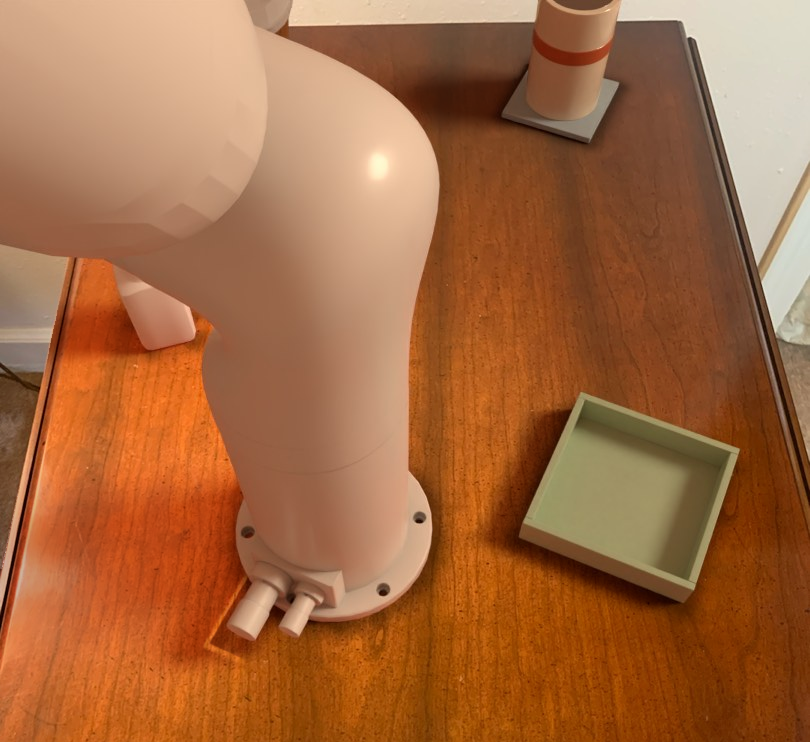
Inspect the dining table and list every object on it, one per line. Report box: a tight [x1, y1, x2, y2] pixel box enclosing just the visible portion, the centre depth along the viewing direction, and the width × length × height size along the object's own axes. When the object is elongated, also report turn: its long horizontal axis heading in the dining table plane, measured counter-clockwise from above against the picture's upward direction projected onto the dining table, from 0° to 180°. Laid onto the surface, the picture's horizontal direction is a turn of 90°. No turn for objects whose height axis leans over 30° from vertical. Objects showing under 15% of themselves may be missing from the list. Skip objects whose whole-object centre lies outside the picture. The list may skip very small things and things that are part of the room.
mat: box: [501, 69, 620, 144], centre depth 71 cm, size 8×8×1 cm
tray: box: [518, 391, 741, 604], centre depth 53 cm, size 11×11×2 cm
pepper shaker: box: [112, 264, 197, 351], centre depth 56 cm, size 4×4×10 cm
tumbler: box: [525, 0, 622, 121], centre depth 67 cm, size 6×6×9 cm
